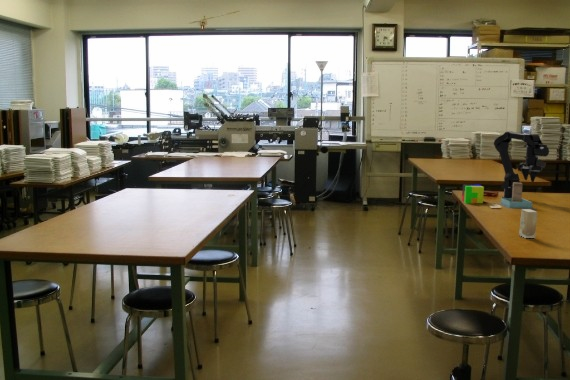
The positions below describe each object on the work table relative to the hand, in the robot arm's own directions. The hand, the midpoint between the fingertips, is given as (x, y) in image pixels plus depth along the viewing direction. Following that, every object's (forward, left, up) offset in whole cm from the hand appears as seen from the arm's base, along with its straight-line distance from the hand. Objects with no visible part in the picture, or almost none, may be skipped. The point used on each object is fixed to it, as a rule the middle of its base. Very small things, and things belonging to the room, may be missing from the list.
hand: (529, 181), depth 337 cm
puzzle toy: (+2, -34, -13) cm, 37 cm away
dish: (+15, -13, -13) cm, 24 cm away
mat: (+15, -13, -13) cm, 24 cm away
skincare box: (+94, -40, -13) cm, 103 cm away
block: (+15, -13, -12) cm, 23 cm away
